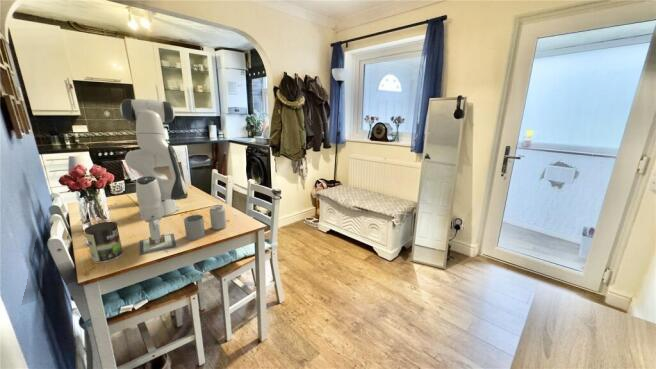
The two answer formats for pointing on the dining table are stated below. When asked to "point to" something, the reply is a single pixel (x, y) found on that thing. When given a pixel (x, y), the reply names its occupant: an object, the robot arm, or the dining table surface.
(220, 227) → the can
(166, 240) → the lid
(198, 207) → the dining table surface
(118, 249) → the coffee can
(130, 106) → the robot arm
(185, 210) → the dining table surface
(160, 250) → the mat
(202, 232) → the cup
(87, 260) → the dining table surface
